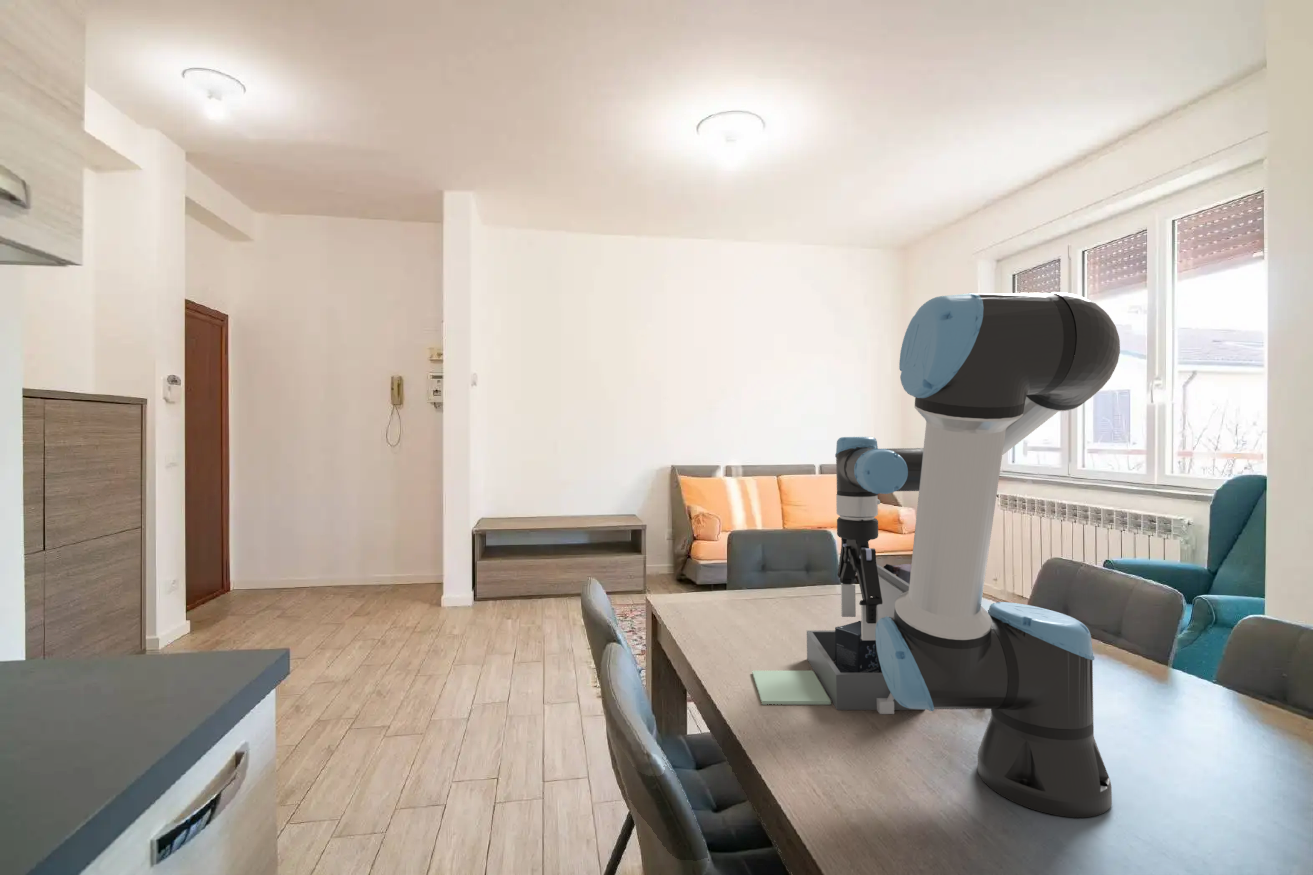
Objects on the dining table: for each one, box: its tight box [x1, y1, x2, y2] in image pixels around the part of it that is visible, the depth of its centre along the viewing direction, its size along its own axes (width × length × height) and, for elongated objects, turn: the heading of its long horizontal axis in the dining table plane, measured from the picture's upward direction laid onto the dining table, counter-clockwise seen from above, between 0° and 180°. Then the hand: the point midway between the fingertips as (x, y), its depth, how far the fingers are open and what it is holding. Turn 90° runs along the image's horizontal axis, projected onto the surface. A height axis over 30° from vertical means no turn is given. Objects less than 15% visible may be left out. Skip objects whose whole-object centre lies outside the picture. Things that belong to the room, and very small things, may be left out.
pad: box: [751, 670, 832, 706], centre depth 113 cm, size 14×12×1 cm
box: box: [834, 620, 882, 673], centre depth 116 cm, size 8×6×11 cm
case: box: [806, 563, 926, 715], centre depth 115 cm, size 26×16×20 cm, turn 178°
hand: (858, 627), depth 116 cm, fingers open, 13 cm apart
